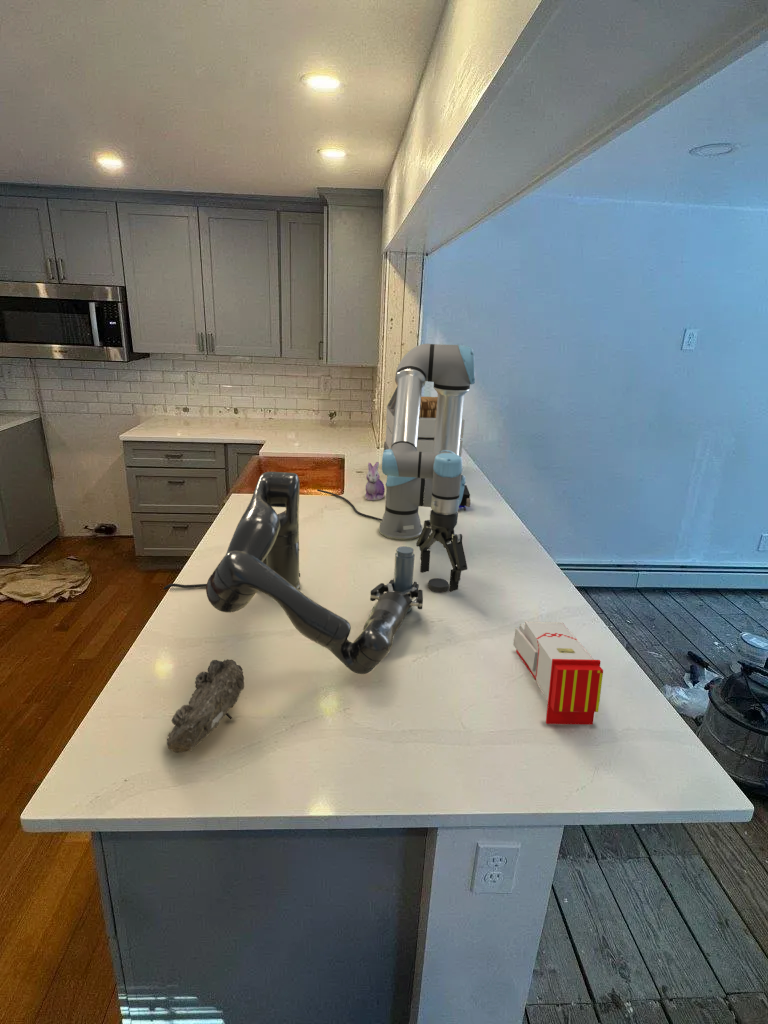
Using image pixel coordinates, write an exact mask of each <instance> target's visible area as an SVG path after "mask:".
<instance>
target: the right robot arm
mask: <svg viewBox="0 0 768 1024" xmlns="http://www.w3.org/2000/svg"><path fill="white" fill-rule="evenodd" d="M474 352H475V351H474V349H473V347H471V346H468V345H463V344H462V345H461V344H441V343H439V344H438V343H421V344H418V345H416V346H413V348H411V349H410V350H409V351H407V353H405V355H404V356H403V357H402V358H401V360H400V361H399V364H398V365H397V367H396V369H395V370H396V371H395V376H394V377H395V378H394V382H395V385H396V388H397V386H398V388H397V397H396V406H395V415H394V424H393V433H392V443H391V449H389V450H384V449H383V452H382V459H381V472H382V474H383V475H385V476H386V482H385V487H386V488H385V504H384V505H385V507H384V508H385V509H384V513H383V515H382V518H380V517H378V516H377V517H376V516H373V515H370V514H366V513H362V512H360V511H358V510H357V508H356V507H355V505H354V504H353V503H352V502H351V501H350V500H349V499H347V498H345V497H343V496H342V495H339V494H337V493H334V492H331V491H327V490H322V489H319V488H317V489H316V491H317V492H320V493H324V494H328V495H331V496H334V497H337V498H340V499H341V500H343V501H345V502H346V503H348V504H349V505H350V507H351V508H352V509H353V511H354V512H355V513H356V514H357V515H360V516H362V517H366V518H369V519H373V520H377V521H379V527H378V533H379V534H380V535H381V536H382V537H385V538H387V539H389V540H395V541H410V540H415V539H417V541H416V543H415V546H416V547H417V548H419V551H420V554H419V556H420V557H419V558H420V567H419V568H420V569H419V572H420V574H423V573H426V572H429V571H430V562H431V561H430V560H431V550H430V549H431V547H433V545H434V543H436V542H439V543H440V544H441V545H442V546H443V548H444V549H445V550H446V553H447V556H448V559H449V561H450V565H451V567H452V568H451V569H450V574H449V582H448V585H449V586H448V592H450V593H451V592H455V591H458V590H459V584H460V581H461V578H462V577H461V575H462V572H463V571H467V570H468V564H467V560H466V555H465V550H464V549H465V548H464V544H463V534H462V533H459V534H457V533H456V532H455V528H456V526H457V525H458V517H459V513H458V511H459V510H460V508H459V505H460V503H461V500H462V497H463V492H464V486H465V485H466V476H465V475H463V474H462V473H463V457H462V456H461V457H460V456H459V447H460V439H461V438H460V436H461V425H462V419H463V414H464V403H465V395H466V394H467V393H468V392H469V391H470V388H471V386H472V385H475V383H476V364H475V363H476V362H475V353H474ZM426 382H429V383H433V389H434V391H436V393H437V396H436V397H437V410H436V424H435V437H434V450H433V452H418V451H416V450H417V440H418V428H419V416H420V404H421V397H422V391H423V388H424V387H425V385H426ZM419 507H424V508H430V509H431V510H430V513H429V514H430V515H429V519H426V520H424V522H423V525H422V524H421V518H420V515H419ZM458 509H459V510H458Z"/></svg>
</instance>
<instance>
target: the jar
mask: <svg viewBox="0 0 768 1024" xmlns="http://www.w3.org/2000/svg"><path fill="white" fill-rule="evenodd" d="M395 551H396V552H395V553H394V569H393V570H394V571H393V579H394V586H393V590H394V591H398V592H403V591H405V590H407V589H411V587H412V585H413V583H414V572H415V571H414V570H415V557H416V556H415V555H416V554H415V553H414V552H415V550H414V548H413V547H411V546H407V545H406V546H405V545H403V546H399V547H397V548H396V550H395ZM411 610H412V607H411V608H409V609H408V611H407V613H409V612H411Z"/></svg>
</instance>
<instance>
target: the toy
mask: <svg viewBox="0 0 768 1024" xmlns="http://www.w3.org/2000/svg"><path fill="white" fill-rule="evenodd" d="M514 629H515V630H514V637H513V643H512V644H513V647H514V648H515V653H516V654H517V655H518V657H519V658H520V660H521V662H522V663H523V664H524V665H525V667H526V669H527V670H528V672H529V673H530V675H531V676H532V678H533V679H534V680H535V682H536V684H537V686H538V687H539V689H540V691H541V692H542V694H543V696H544V698H545V700H546V702H547V707H546V715H545V716H546V717H545V724H546V725H582V726H583V725H585V726H586V725H589V726H591V725H594V719H595V713H599V709H600V701H601V693H602V686H603V685H602V684H603V677H604V669H603V668H602V667H601V662H602V661H601V660H600V659H594V657H592V655H591V654H590V653H589V651H588V650H587V649H586V648H585V647H584V646H583V644H582V643H581V642H580V641H579V640H578V639H577V638H576V636H575V635H574V634H573V633H572V632H571V631H570V629H569V628H568V627H567V625H566V624H564V622H562V621H561V622H559V621H558V622H557V621H556V622H555V621H524V623H519V627H515V628H514Z"/></svg>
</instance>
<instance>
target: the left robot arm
mask: <svg viewBox="0 0 768 1024" xmlns="http://www.w3.org/2000/svg"><path fill="white" fill-rule="evenodd" d="M300 488H301V484H300V478H299V475H298V474H297V473H295V472H286V471H265V472H263V473H261V475H260V476H259V478H258V479H257V482H256V484H255V488H254V491H253V493H252V496H251V499H250V501H249V504H248V506H247V507H246V509H245V511H244V513H243V514H242V515H241V518H240V520H239V521H238V523H237V525H236V528H235V530H234V532H233V534H232V537H231V539H230V542H229V545H228V548H227V550H226V553H225V555H224V556H223V557H222V559H221V560H220V562H219V563H218V565H217V566H216V567H215V569H214V570H213V572H212V573H211V574H210V576H209V578H208V580H207V582H206V583H201V584H200V583H198V584H196V583H195V584H181V583H169V584H166V585H165V586H164V587H163V590H168V589H169V588H173V587H175V588H181V589H182V588H183V589H194V588H205V593H206V597H207V600H208V602H209V604H211V606H212V607H213V608H214V609H216V610H217V611H219V612H222V613H227V614H229V613H236V612H238V611H241V610H242V609H243V608H245V607H246V606H247V605H248V604H250V602H251V600H253V598H254V597H255V596H256V594H257V593H258V592H261V593H262V594H265V595H267V596H269V597H270V598H271V599H273V600H274V601H276V603H278V605H279V606H280V607H281V609H282V610H283V612H284V613H285V614H286V616H287V618H288V619H289V621H290V623H291V624H292V625H293V627H294V628H295V630H297V631H298V632H299V633H300V634H301V635H303V636H304V637H305V638H307V639H309V640H310V641H312V642H314V643H316V644H318V645H320V646H322V647H323V648H325V649H327V650H329V652H331V654H332V655H334V657H335V658H337V659H338V660H339V661H340V662H341V663H342V664H343V665H344V666H345V667H346V668H347V669H348V670H349V671H351V672H353V673H354V674H357V675H358V674H359V675H368V674H369V673H370V672H372V671H373V670H374V669H375V668H376V667H377V666H378V665H379V664H380V663H381V662H382V661H383V660H384V659H385V658H386V657H387V656H388V655H389V653H390V651H391V650H392V647H393V646H394V636H395V634H396V632H397V631H398V629H400V627H401V625H402V623H403V620H405V617H406V615H407V614H408V612H407V611H408V609H409V608H411V609H412V607H415V608H416V607H417V608H416V609H417V610H423V605H424V590H423V589H420V584H419V583H418V582H417V581H413V585H412V587H411V589H407V590H405V591H403V592H398V591H394V590H393V586H394V578H392V579H390V580H389V582H388V583H386V584H385V583H383V582H380V583H378V585H376V586H375V587H374V588H373V589H371V590H370V592H369V593H370V594H369V595H370V596H369V600H370V602H375V601H376V600H377V601H376V603H375V604H374V606H373V607H372V609H371V612H370V615H369V617H368V618H367V620H366V621H365V624H364V626H363V631H362V632H361V633H360V634H359V635H358V636H357V637H356V638H355V640H353V642H352V641H350V640H349V639H348V638H349V636H350V634H351V629H352V628H351V624H350V622H349V621H348V620H347V619H346V618H344V617H342V616H340V615H339V614H337V613H336V612H335V613H334V612H333V611H331V610H329V609H328V608H326V607H324V606H322V605H321V604H319V603H317V602H316V601H314V600H313V599H311V598H310V597H308V596H307V595H306V594H304V593H303V592H302V591H300V590H299V589H300V586H301V585H300V583H301V582H300V578H301V573H300V523H299V522H300V494H301V493H300V492H301V489H300ZM274 508H285V510H284V511H282V512H279V513H277V511H276V509H274Z"/></svg>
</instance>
